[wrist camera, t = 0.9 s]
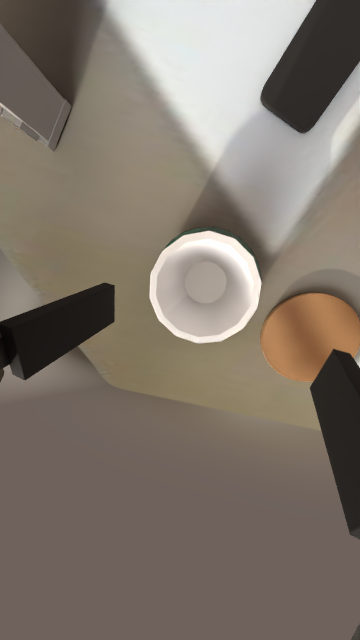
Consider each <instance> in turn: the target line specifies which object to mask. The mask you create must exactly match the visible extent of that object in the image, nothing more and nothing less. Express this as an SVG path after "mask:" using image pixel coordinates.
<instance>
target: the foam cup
mask: <svg viewBox="0 0 360 640" xmlns="http://www.w3.org/2000/svg"><path fill="white" fill-rule="evenodd" d="M260 289H261V279H260V276H259V273H258V270H257V267H256V263H255V260H254V257H253V256H252V255H251V254H250V253H249V252H248V251H247V250H246V249H245V248H244V247H243V246H242V245H241V244H240V243H239V242H238V241H237V240H236V239H234V238H231V237H228V236H225V235H221V234H218V233H215V232H212V231H205V232H200V233H194V234H188V235H183V236H182V237H180V238H179V239H178V240H176V241H175V242H174V243H172V244H171V245H170V246H168V247H167V248H166V249H164V250H163V251H162V253H161V254H160V256H159V258H158V260H157V262H156V264H155V266H154V268H153V270H152V272H151V276H150V300H151V303H152V305H153V308H154V310H155V312H156V315H157V317H158V320H159V321H160V322H161V323H162V324H164V325H165V326H166V327H167V328H168V329H169V330H170V331H171V332H172V333H173V334H174V335H175V336H178V337H180V338H183V339H186V340H189V341H192V342H195V343H207V342H218V341H222V340H224V339H226V338H228V337H229V336H231V335H233V334H235V333H236V332H238V331H240V330H242V329H243V328H244V326H245V325H246V323H247V322H248V321H249V319H250V318H251V316H252V315H253V314H254V312H255V311H256V309H257V307H258V301H259V295H260Z"/></svg>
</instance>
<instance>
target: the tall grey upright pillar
mask: <svg viewBox="0 0 360 640" xmlns="http://www.w3.org/2000/svg"><path fill="white" fill-rule="evenodd" d="M70 109H71V105H70V104H69V103H68V101H67V100H66V99H64V98H63V97H62V96H61V95H60V94H59V93H58V92H57V90H56V89H55V88H54V87H53V86H52V84H51V83H50V82H49V81H48V80H47V78H46V77H45V76H44V75H43V74H42V73H41V71H40V70H39V69H38V68H37V67H36V65H35V64H34V63H33V62H32V61H31V59H30V58H29V57H28V56H27V55H26V54H25V52H24V51H23V50H22V49H21V48H20V46H19V45H18V44H17V43H16V42H15V40H14V39H13V38H12V37H11V36H10V34H9V33H8V32H7V31H6V30H5V29H4V27H3V26H2V25H1V24H0V115H1V116H2V117H4V118H5V119H7V120H8V121H10V122H11V123H12V124H14V125H15V126H16V127H18V128H19V129H20V130H22V131H23V132H25V133H26V134H27V135H29V136H30V137H32V138H33V139H35V140H36V141H37V140H39V141H40V142H42V143H43V144H44V145H46V146H47V147H49V148H50V149H52V150H53V151H54V149H55V148H56V146H57V142H58V139H59V137H60V134H61V132H62V129H63V127H64V124H65V122H66V119H67V117H68V114H69V113H70Z"/></svg>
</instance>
